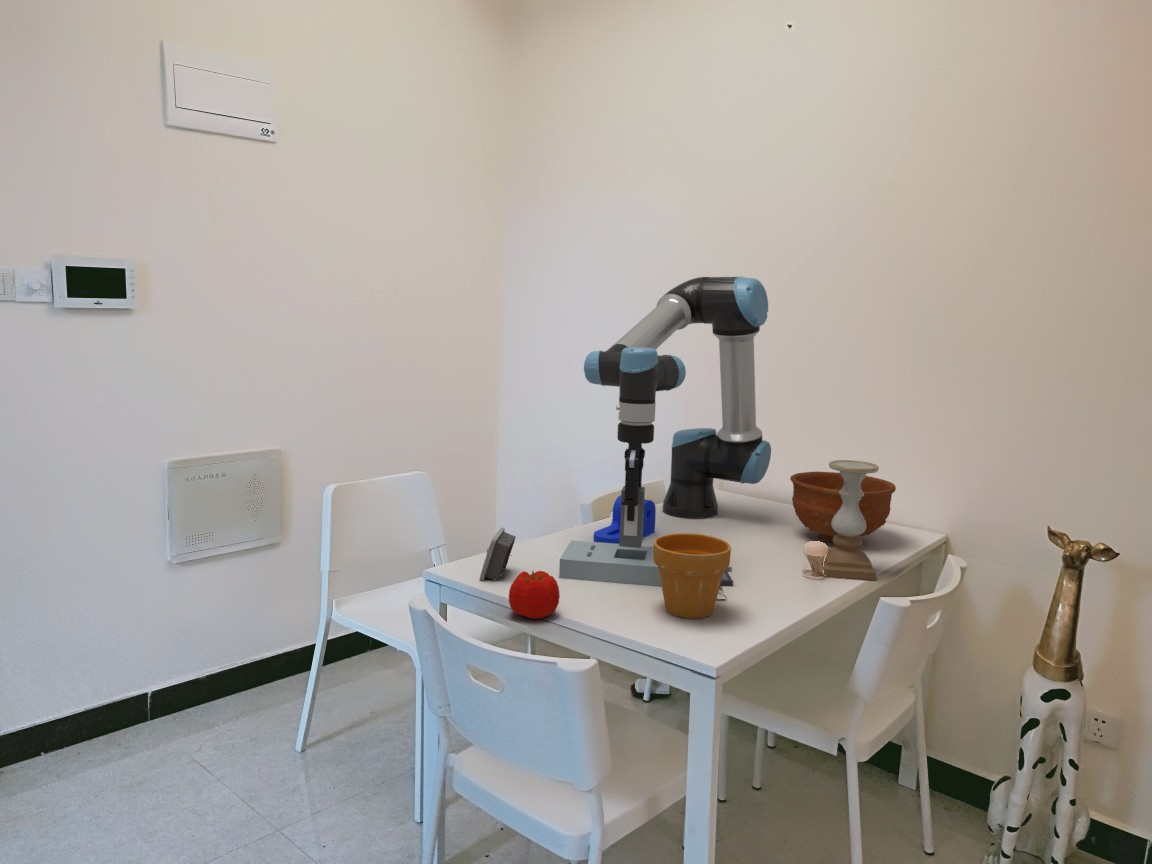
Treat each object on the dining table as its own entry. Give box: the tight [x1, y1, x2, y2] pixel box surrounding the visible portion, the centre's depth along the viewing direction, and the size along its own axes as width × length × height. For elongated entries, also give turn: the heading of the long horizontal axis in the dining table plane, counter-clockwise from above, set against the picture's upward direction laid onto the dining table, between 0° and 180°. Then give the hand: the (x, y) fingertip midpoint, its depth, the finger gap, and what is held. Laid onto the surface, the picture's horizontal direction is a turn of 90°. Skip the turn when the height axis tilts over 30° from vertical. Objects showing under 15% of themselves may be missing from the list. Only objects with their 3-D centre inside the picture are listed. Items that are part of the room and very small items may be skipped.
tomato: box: [508, 570, 561, 620], centre depth 151 cm, size 9×9×8 cm
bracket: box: [593, 494, 657, 544], centre depth 202 cm, size 18×8×9 cm, turn 145°
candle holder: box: [823, 459, 880, 582], centre depth 180 cm, size 11×11×24 cm
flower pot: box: [653, 532, 732, 619], centre depth 155 cm, size 14×14×13 cm
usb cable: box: [726, 566, 733, 572], centre depth 182 cm, size 15×1×1 cm, turn 71°
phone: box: [720, 570, 734, 587], centre depth 173 cm, size 7×14×1 cm, turn 91°
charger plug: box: [619, 485, 646, 548], centre depth 174 cm, size 4×4×12 cm
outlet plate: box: [558, 539, 662, 587], centre depth 176 cm, size 14×22×4 cm, turn 81°
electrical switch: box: [479, 527, 517, 581], centre depth 172 cm, size 9×5×9 cm, turn 173°
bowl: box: [789, 471, 897, 543], centre depth 206 cm, size 25×25×15 cm
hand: (631, 531), depth 175 cm, fingers closed on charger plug, 4 cm apart
